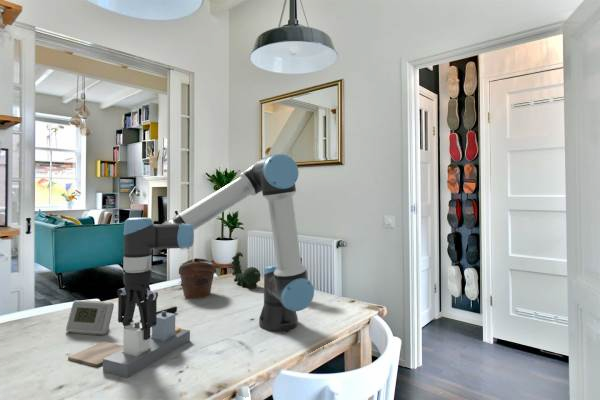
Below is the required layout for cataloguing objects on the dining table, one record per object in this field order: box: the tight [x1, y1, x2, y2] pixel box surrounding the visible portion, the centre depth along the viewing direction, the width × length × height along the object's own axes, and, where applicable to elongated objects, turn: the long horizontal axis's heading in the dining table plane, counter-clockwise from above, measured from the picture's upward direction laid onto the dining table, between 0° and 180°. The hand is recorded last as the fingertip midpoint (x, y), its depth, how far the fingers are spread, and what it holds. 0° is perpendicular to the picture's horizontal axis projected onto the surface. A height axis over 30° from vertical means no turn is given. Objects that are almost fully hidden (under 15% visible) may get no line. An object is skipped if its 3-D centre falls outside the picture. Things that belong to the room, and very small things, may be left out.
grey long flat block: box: [102, 326, 191, 379], centre depth 107 cm, size 9×26×4 cm, turn 159°
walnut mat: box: [67, 341, 123, 368], centre depth 106 cm, size 12×12×1 cm
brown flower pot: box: [178, 257, 217, 299], centre depth 172 cm, size 18×20×18 cm
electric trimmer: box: [139, 306, 178, 324], centre depth 139 cm, size 4×16×3 cm, turn 145°
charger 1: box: [122, 321, 150, 357], centre depth 102 cm, size 5×5×10 cm
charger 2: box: [151, 311, 176, 341], centre depth 112 cm, size 5×5×10 cm
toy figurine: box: [231, 251, 261, 289], centre depth 190 cm, size 9×19×25 cm
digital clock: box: [65, 299, 115, 336], centre depth 124 cm, size 16×9×11 cm, turn 70°
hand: (136, 348), depth 102 cm, fingers closed on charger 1, 5 cm apart
